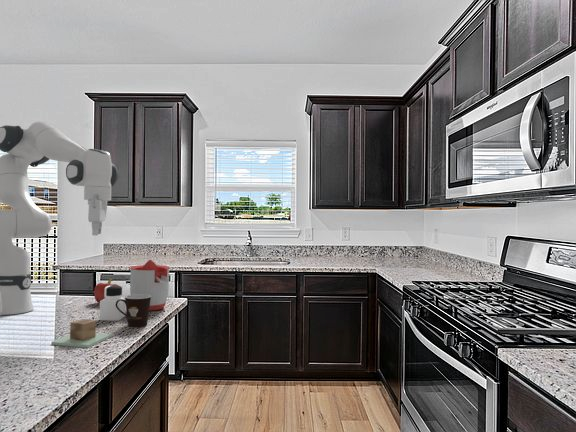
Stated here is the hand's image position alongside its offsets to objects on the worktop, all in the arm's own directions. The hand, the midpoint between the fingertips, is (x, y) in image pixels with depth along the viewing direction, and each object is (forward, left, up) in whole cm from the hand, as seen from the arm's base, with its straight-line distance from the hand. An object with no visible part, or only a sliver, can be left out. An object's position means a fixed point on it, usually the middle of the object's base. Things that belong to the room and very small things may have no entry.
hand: (96, 234), depth 159 cm
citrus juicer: (+7, +27, -31) cm, 42 cm away
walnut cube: (+9, -20, -30) cm, 37 cm away
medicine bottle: (+2, +8, -31) cm, 32 cm away
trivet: (+9, -20, -31) cm, 38 cm away
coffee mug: (+14, +2, -31) cm, 34 cm away
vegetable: (-15, +32, -31) cm, 47 cm away
